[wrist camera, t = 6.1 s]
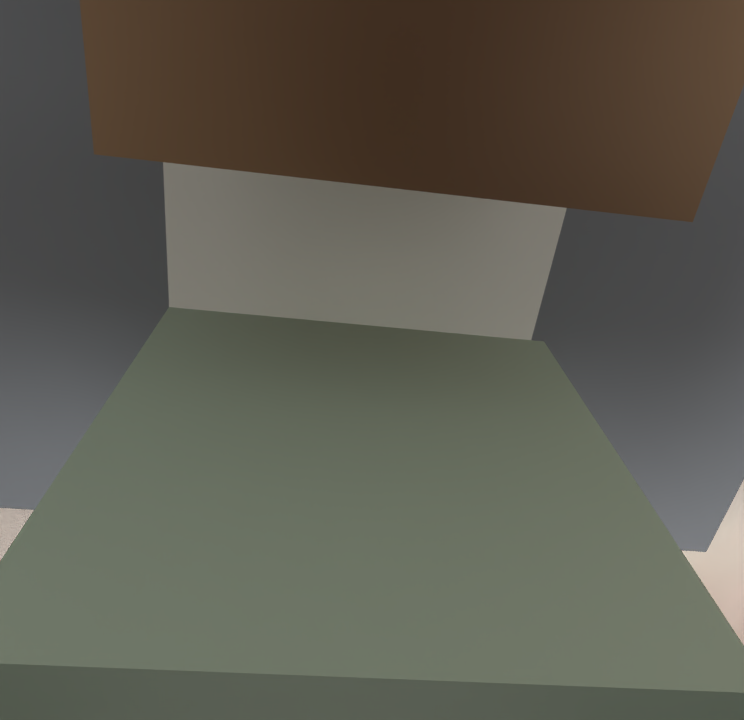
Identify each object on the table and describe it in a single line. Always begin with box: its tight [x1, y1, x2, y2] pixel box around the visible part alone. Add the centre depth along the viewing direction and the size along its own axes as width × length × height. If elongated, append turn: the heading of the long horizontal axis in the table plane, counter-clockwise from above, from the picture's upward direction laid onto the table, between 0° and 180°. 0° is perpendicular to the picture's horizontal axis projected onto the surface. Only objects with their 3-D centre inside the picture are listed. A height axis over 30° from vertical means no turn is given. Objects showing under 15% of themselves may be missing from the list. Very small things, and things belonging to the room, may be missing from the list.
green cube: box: [0, 307, 744, 720], centre depth 6 cm, size 4×4×4 cm
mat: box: [0, 0, 744, 552], centre depth 9 cm, size 18×14×1 cm
